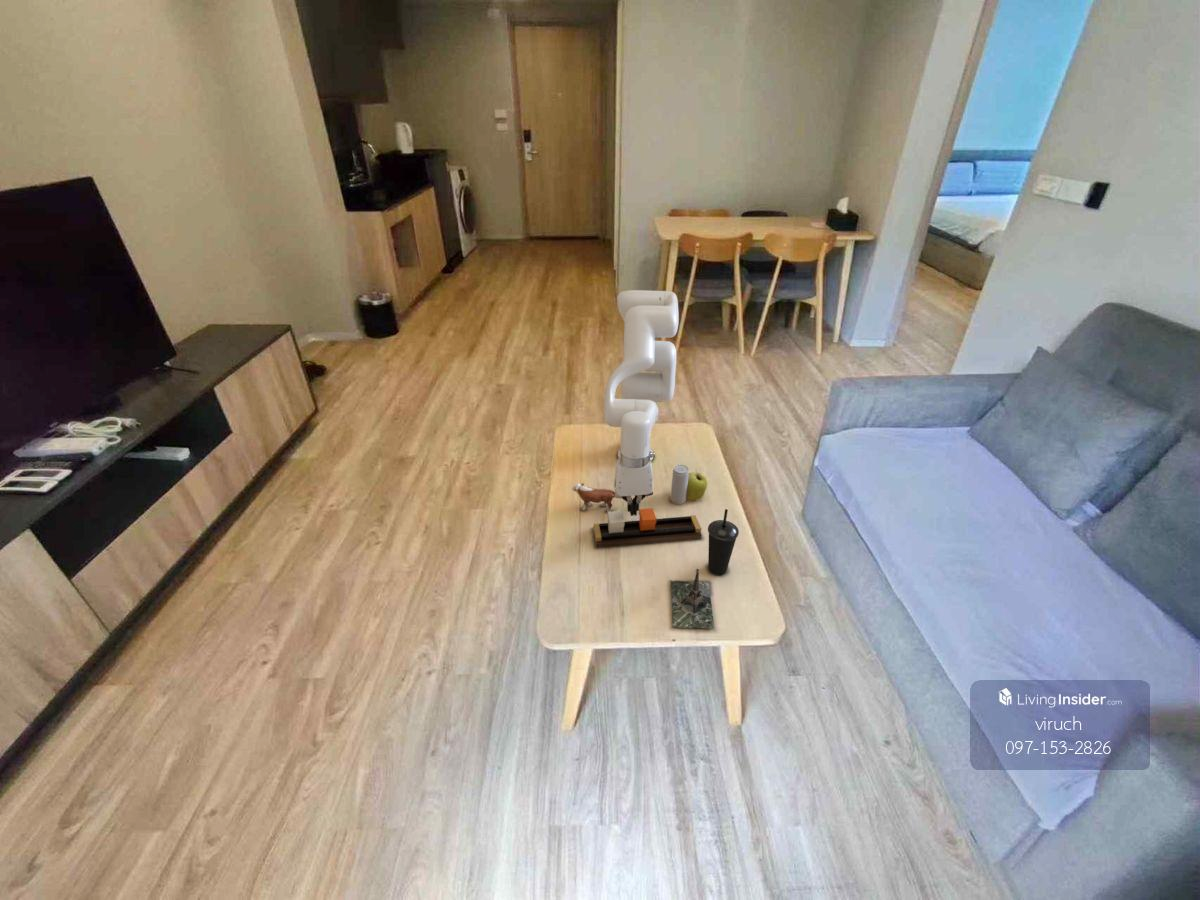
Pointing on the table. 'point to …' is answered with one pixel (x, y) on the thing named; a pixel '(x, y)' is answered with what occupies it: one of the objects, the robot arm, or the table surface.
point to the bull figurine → (594, 495)
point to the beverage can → (679, 484)
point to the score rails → (647, 533)
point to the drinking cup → (721, 544)
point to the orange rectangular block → (647, 519)
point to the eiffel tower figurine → (691, 604)
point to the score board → (651, 538)
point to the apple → (696, 486)
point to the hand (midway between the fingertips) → (632, 512)
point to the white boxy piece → (615, 522)
